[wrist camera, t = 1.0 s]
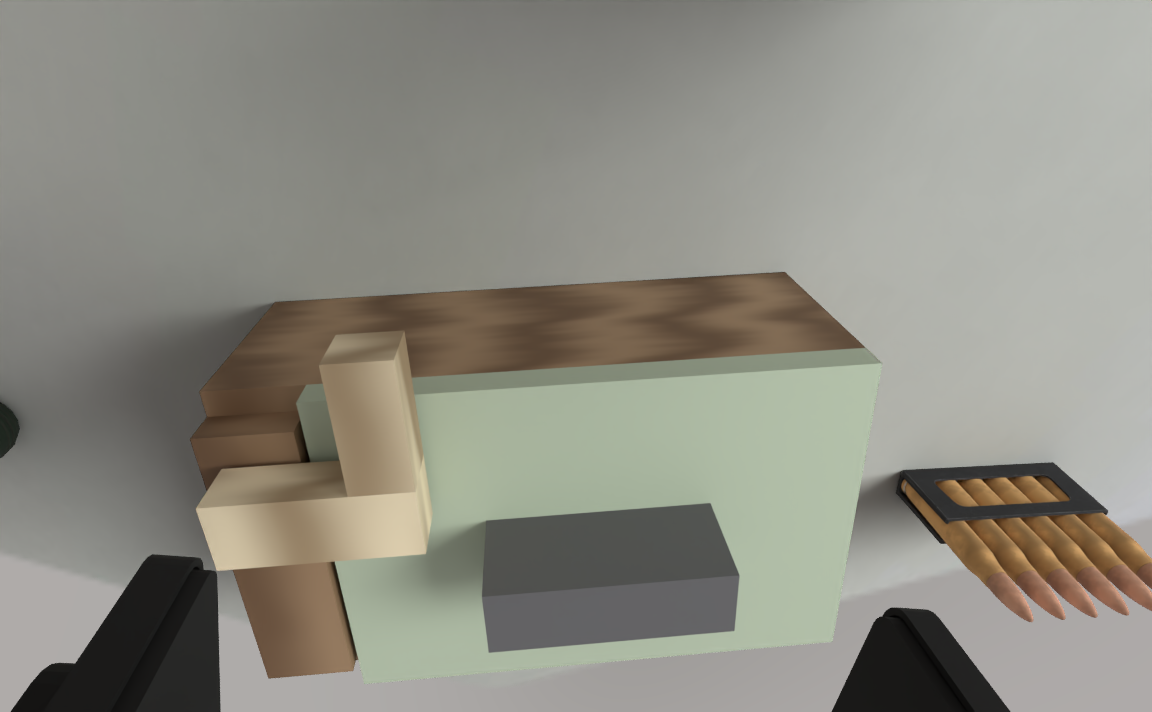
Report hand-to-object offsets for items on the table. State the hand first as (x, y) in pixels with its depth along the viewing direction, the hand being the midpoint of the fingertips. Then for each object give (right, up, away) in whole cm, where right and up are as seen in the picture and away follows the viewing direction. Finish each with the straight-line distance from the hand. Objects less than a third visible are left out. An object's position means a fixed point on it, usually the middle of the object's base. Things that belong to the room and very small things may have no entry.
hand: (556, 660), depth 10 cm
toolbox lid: (+1, -3, +23) cm, 23 cm away
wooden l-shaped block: (-10, +1, +18) cm, 20 cm away
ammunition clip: (+27, -4, +37) cm, 46 cm away
